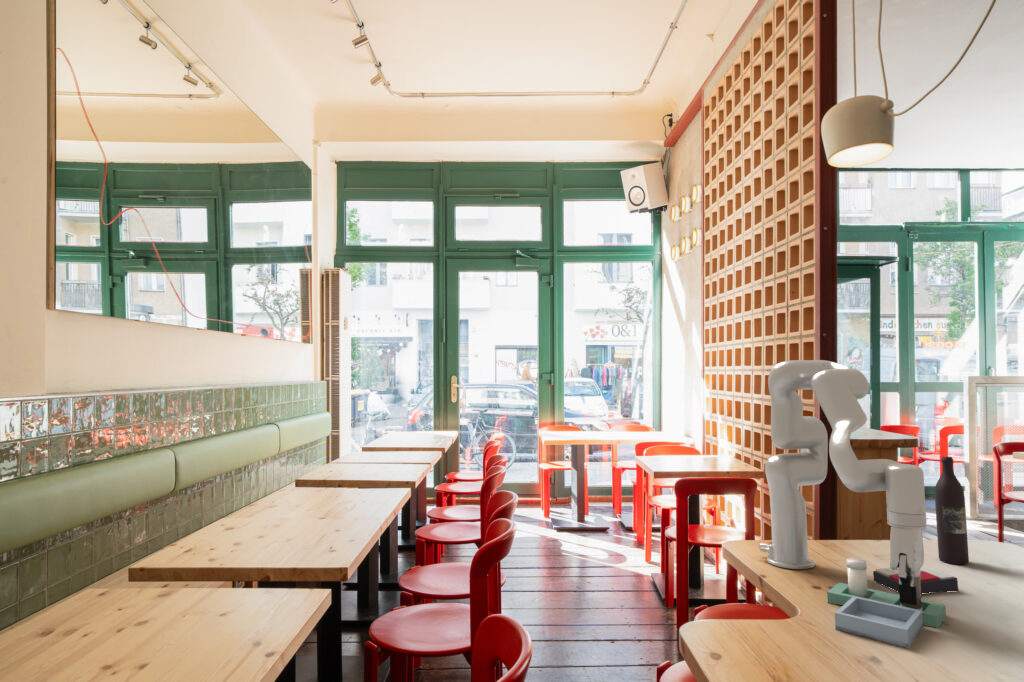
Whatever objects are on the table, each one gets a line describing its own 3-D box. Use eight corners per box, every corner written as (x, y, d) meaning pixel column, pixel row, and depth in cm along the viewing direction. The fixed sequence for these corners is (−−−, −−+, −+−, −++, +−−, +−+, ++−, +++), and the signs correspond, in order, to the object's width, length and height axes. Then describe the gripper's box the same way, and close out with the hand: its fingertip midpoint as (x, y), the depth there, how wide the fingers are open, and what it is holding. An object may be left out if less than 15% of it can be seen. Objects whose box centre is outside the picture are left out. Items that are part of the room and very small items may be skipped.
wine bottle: (942, 563, 172) (935, 458, 174) (936, 557, 179) (929, 455, 181) (972, 566, 169) (965, 459, 171) (964, 559, 176) (957, 455, 178)
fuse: (846, 603, 144) (843, 560, 145) (851, 598, 147) (849, 556, 148) (865, 607, 141) (863, 564, 142) (871, 602, 144) (868, 560, 145)
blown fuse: (898, 612, 137) (896, 567, 137) (903, 607, 139) (900, 563, 140) (920, 617, 134) (917, 571, 134) (924, 612, 136) (922, 567, 137)
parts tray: (835, 629, 130) (834, 612, 130) (854, 611, 139) (853, 596, 139) (908, 648, 120) (907, 630, 120) (923, 627, 130) (922, 610, 130)
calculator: (871, 568, 159) (922, 561, 161) (873, 584, 159) (924, 578, 161) (903, 581, 149) (957, 575, 150) (905, 599, 148) (959, 592, 150)
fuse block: (827, 602, 145) (827, 591, 145) (839, 592, 151) (839, 582, 151) (937, 627, 129) (937, 616, 129) (946, 615, 136) (945, 604, 136)
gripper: (896, 510, 146) (900, 587, 145) (877, 523, 134) (882, 606, 133) (933, 515, 141) (938, 594, 140) (917, 528, 129) (922, 616, 128)
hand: (910, 599), depth 137 cm, fingers closed on blown fuse, 4 cm apart
